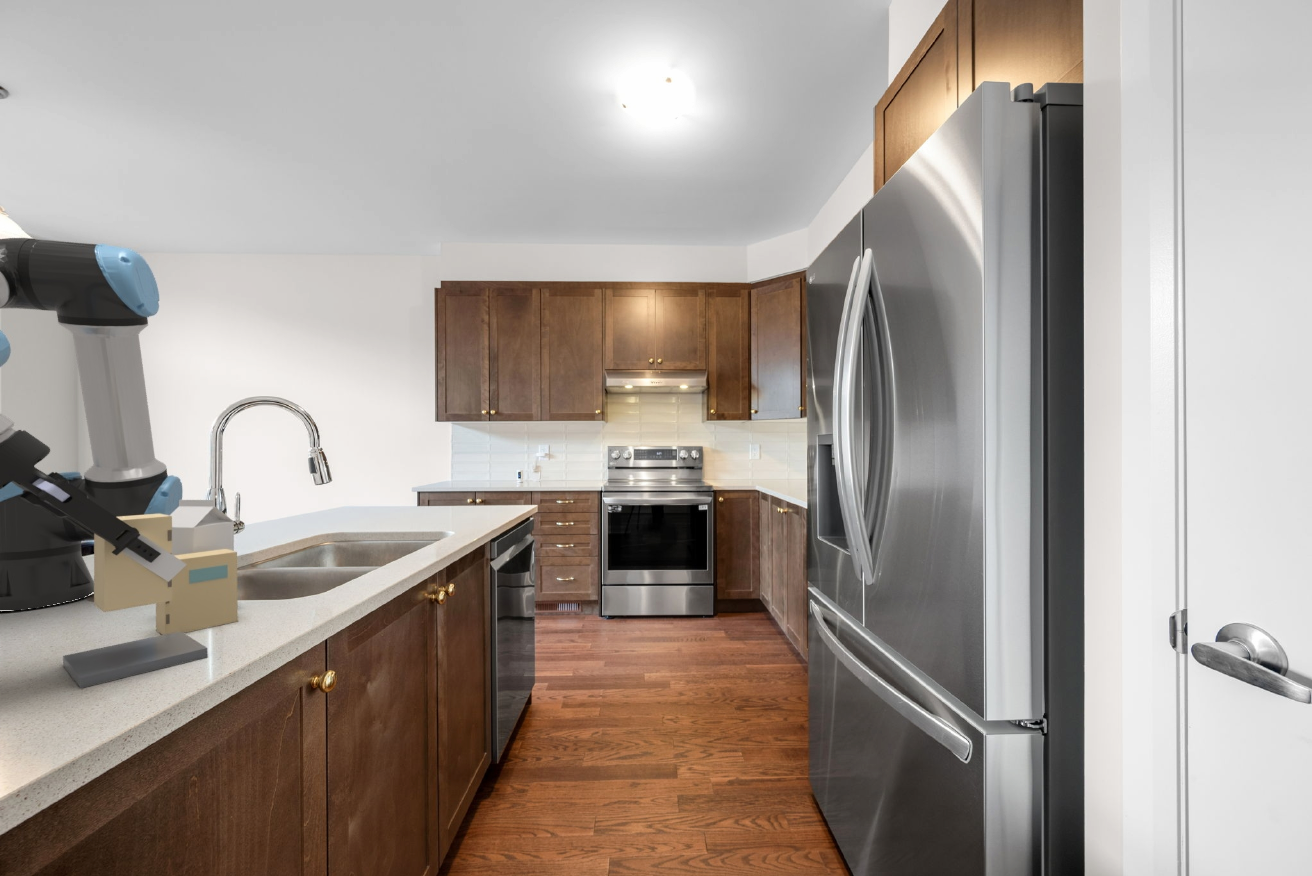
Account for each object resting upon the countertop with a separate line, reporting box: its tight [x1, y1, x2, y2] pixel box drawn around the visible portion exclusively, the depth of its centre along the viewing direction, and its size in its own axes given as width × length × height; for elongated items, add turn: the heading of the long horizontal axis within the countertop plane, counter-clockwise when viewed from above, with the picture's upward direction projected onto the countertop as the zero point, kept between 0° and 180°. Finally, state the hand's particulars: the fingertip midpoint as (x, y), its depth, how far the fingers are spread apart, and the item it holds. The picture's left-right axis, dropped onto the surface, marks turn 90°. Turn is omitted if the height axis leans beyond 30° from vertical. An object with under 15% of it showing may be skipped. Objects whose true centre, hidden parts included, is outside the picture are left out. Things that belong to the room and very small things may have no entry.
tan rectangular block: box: [93, 514, 172, 613], centre depth 75 cm, size 6×6×11 cm
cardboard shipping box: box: [155, 549, 239, 635], centre depth 91 cm, size 5×9×11 cm, turn 142°
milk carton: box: [169, 499, 235, 556], centre depth 97 cm, size 7×7×19 cm
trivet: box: [62, 631, 208, 689], centre depth 76 cm, size 12×12×1 cm
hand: (169, 569), depth 78 cm, fingers closed on tan rectangular block, 6 cm apart
